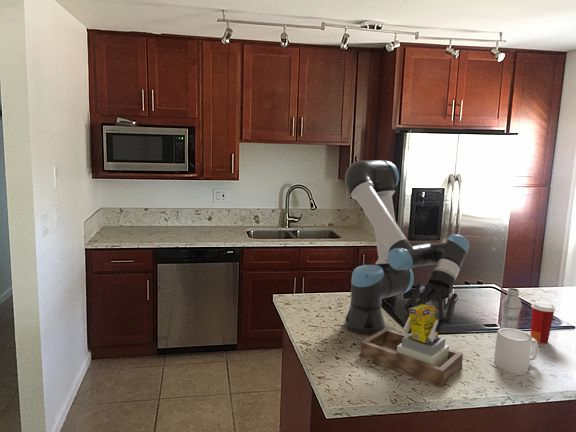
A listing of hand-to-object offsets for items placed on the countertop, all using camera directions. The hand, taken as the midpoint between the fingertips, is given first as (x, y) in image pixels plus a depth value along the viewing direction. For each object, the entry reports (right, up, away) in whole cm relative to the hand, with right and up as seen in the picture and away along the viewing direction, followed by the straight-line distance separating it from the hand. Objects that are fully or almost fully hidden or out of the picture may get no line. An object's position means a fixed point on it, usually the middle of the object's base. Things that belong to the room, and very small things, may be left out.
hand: (417, 335), depth 145 cm
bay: (-1, -10, +7) cm, 13 cm away
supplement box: (+3, -3, +3) cm, 5 cm away
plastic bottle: (+39, -9, +24) cm, 47 cm away
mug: (+33, -12, +7) cm, 36 cm away
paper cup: (+52, -9, +26) cm, 59 cm away
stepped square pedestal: (+3, -10, +4) cm, 11 cm away
